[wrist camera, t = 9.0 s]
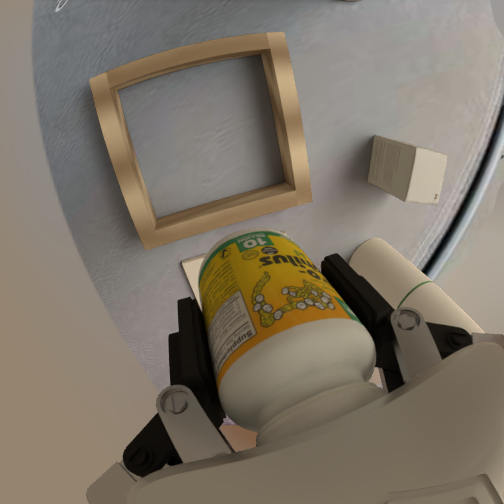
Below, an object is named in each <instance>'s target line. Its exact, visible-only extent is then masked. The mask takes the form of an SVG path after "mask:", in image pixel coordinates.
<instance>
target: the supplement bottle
mask: <svg viewBox="0 0 504 504" xmlns="http://www.w3.org/2000/svg"><path fill="white" fill-rule="evenodd" d="M198 288H199V297H200V303H201V308H202V314H203V319H204V325H205V330H206V336H207V341H208V347H209V353H210V358H211V363H212V368H213V373H214V378H215V382H216V387H217V391H218V395H219V399H220V403H221V405H222V407H223V410H224V411H225V413H226V414H227V415H228V417H229V418H230V419H231V420H232V421H233V422H235V423H236V424H237V425H239V426H241V427H243V428H245V429H247V430H250V431H254V432H258V434H257V438H256V442H257V444H256V447H258V446H262V445H265V444H269V443H272V442H275V441H279V440H282V439H285V438H288V437H291V436H294V435H297V434H299V433H302V432H305V431H308V430H310V429H313V428H316V427H318V426H321V425H323V424H326V423H328V422H331V421H333V420H335V419H338V418H340V417H342V416H344V415H347V414H349V413H351V412H353V411H355V410H357V409H359V408H362V407H364V406H366V405H368V404H370V403H372V402H373V401H375V400H377V399H379V398H381V397H383V396H385V395H387V394H386V392H385V391H384V389H382V388H380V387H377V386H376V385H375V384H374V383H372V382H369V380H370V378H371V376H372V374H373V371H374V368H375V364H376V349H375V345H374V342H373V339H372V337H371V336H370V334H369V333H368V331H367V330H366V328H365V327H364V326H363V324H362V323H361V322H360V320H359V319H358V318H357V317H356V315H355V314H354V313H353V311H352V310H351V309H350V308H349V307H348V305H347V304H346V303H345V302H344V300H343V299H342V298H341V297H340V295H339V294H338V293H337V292H336V291H335V290H334V288H333V287H332V286H331V285H330V284H329V282H328V281H327V280H326V278H325V277H324V276H323V275H322V274H321V272H320V271H319V270H318V269H317V268H316V266H315V265H314V264H313V263H312V262H311V261H310V259H309V258H308V257H307V256H306V254H305V253H304V252H303V251H302V250H301V248H300V247H299V246H298V245H297V244H296V243H295V242H294V241H293V240H292V239H291V238H290V237H288V236H287V235H285V234H283V233H282V232H279V231H276V230H273V229H270V228H252V229H247V230H242V231H238V232H234V233H232V234H230V235H228V236H226V237H225V238H223V239H221V240H220V241H218V242H217V243H216V244H215V245H214V246H213V247H212V248H211V249H210V251H209V252H208V253H207V255H206V256H205V258H204V260H203V262H202V264H201V267H200V270H199V276H198Z"/></svg>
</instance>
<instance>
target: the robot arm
mask: <svg viewBox="0 0 504 504" xmlns="http://www.w3.org/2000/svg"><path fill="white" fill-rule="evenodd" d="M345 1H359V0H345ZM321 273H322V275H323V276H324V277H325V278H326V280H327V281H328V282H329V284H330V285H331V286H332V287H333V288H334V290H335V291H336V292H337V293H338V294H339V295H340V297H341V298H342V299H343V300H344V302H345V303H346V304H347V305H348V307H349V308H350V309H351V310H352V311H353V313H354V314H355V315H356V317H357V318H358V319H359V320H360V322H361V323H362V324H363V326H364V327H365V328H366V330H367V331H368V333H369V334H370V336H371V337H372V339H373V342H374V345H375V349H376V364H375V367H378V369H379V373H380V378H381V382H382V386H383V389H384V391H385V392H386V394H387V395H385V396H383V397H381V398H379V399H377V400H375V401H373V402H372V403H370V404H368V405H366V406H364V407H362V408H359V409H357V410H355V411H353V412H351V413H349V414H347V415H344V416H342V417H340V418H338V419H335V420H333V421H331V422H328V423H326V424H323V425H321V426H318V427H316V428H313V429H310V430H308V431H305V432H302V433H299V434H297V435H294V436H291V437H288V438H285V439H282V440H279V441H275V442H272V443H269V444H265V445H262V446H258V447H255V448H251V449H247V450H243V451H239V452H236V451H235V450H234V448H233V447H232V446H231V444H230V443H229V441H228V440H227V439H226V437H225V436H224V434H223V433H222V431H221V430H220V428H219V427H220V426H221V425H222V423H223V418H226V414H225V411H224V410H223V407H222V405H221V403H220V399H219V395H218V391H217V387H216V382H215V378H214V373H213V368H212V363H211V358H210V353H209V347H208V341H207V336H206V330H205V325H204V319H203V315H202V312H201V310H200V307H199V305H198V302H197V300H196V299H193V300H192V299H191V297H188V298H184V299H180V300H178V324H179V332H176V333H172V334H169V338H168V340H169V366H170V384H171V386H169V387H167V388H165V389H164V390H163V391H162V392H161V393H160V394H159V395H158V398H157V401H156V407H157V411H158V413H157V414H156V415H155V416H154V417H153V418H152V419H151V421H150V422H149V423H148V424H147V425H146V426H145V427H144V428H143V430H142V431H141V432H140V433H139V434H138V435H137V436H136V437H135V438H134V439H133V440H132V442H131V443H130V444H129V445H128V446H127V447H126V449H125V450H124V453H123V460H122V461H121V462H120V463H118V462H116V463H115V464H114V465H113V466H112V467H111V468H110V469H108V470H107V471H106V472H105V473H104V474H103V475H102V476H101V477H99V479H97V480H96V481H95V482H94V483H93V484H92V485H90V487H89V488H88V489H87V493H86V496H87V500H88V502H89V504H504V335H502V334H488V333H475V332H472V334H471V335H470V334H469V333H468V332H467V331H466V330H465V329H463V328H460V327H455V326H449V325H443V324H437V323H431V322H425V320H424V318H423V316H422V315H421V313H420V312H419V311H417V310H416V309H414V308H411V307H401V308H398V309H396V310H395V309H394V308H393V307H392V306H391V305H390V304H389V303H388V302H387V301H386V300H385V299H384V298H383V297H382V296H381V295H380V293H379V292H378V291H377V290H376V289H375V288H374V287H373V286H372V285H371V284H370V283H369V282H368V281H367V280H366V279H365V278H364V277H363V276H360V275H358V274H357V273H356V272H355V271H354V270H353V269H352V268H351V267H350V266H349V265H348V263H347V262H346V261H345V260H344V259H343V258H342V257H341V256H340V255H338V254H337V253H336V254H332V255H329V256H326V257H325V258H324V261H322V262H321Z"/></svg>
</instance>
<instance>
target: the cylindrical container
mask: <svg viewBox="0 0 504 504" xmlns="http://www.w3.org/2000/svg"><path fill="white" fill-rule="evenodd" d="M349 266H350V267H351V268H352V269H353V270H354V271H355V272H356V273H357V274H358V275H360V276H363V277H364V278H365V279H366V280H367V281H368V282H369V283H370V284H371V285H372V286H373V287H374V288H375V289H376V290H377V291H378V292H379V293H380V295H381V296H382V297H383V298H384V299H385V300H386V301H387V302H388V303H389V304H390V305H391V306H392V307H393V308H394V309H395V310H396V309H398V308H401V307H411V308H414V309H416V310H417V311H419V312H420V313H421V315H422V316H423V318H424V320H425V322H431V323H437V324H443V325H449V326H455V327H460V328H463V329H465V330H466V331H467V332H468V333H469V334H470V335H471V334H472V332H475V333H485V332H484V331H483V330H482V329H481V328H480V327H479V326H478V325H477V324H476V323H475V322H474V321H473V320H472V319H471V318H470V317H469V316H468V315H467V314H466V313H465V312H464V311H463V310H462V309H461V308H460V307H459V306H458V305H457V304H456V303H455V302H454V301H453V300H452V299H451V298H450V297H449V296H448V295H447V294H446V293H444V292H443V291H442V290H441V289H440V288H439V287H438V286H437V285H436V284H435V283H434V282H432V281H431V280H430V279H429V278H428V277H427V276H426V275H425V274H423V273H422V272H421V271H420V270H419V269H418V268H417V267H415V266H414V265H413V264H412V263H411V262H409V261H408V260H407V259H406V258H405V257H403V256H402V255H401V254H400V253H399V252H397V251H396V250H395V249H394V248H393V247H391V246H390V245H389V244H388V243H386V242H385V241H384V240H382V239H380V238H373V239H370V240H367V241H365V242H364V243H363V244H361V245H360V246H359V247H358V248H357V249H356V251H355V252H354V253H353V255H352V257H351V260H350V262H349Z"/></svg>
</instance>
